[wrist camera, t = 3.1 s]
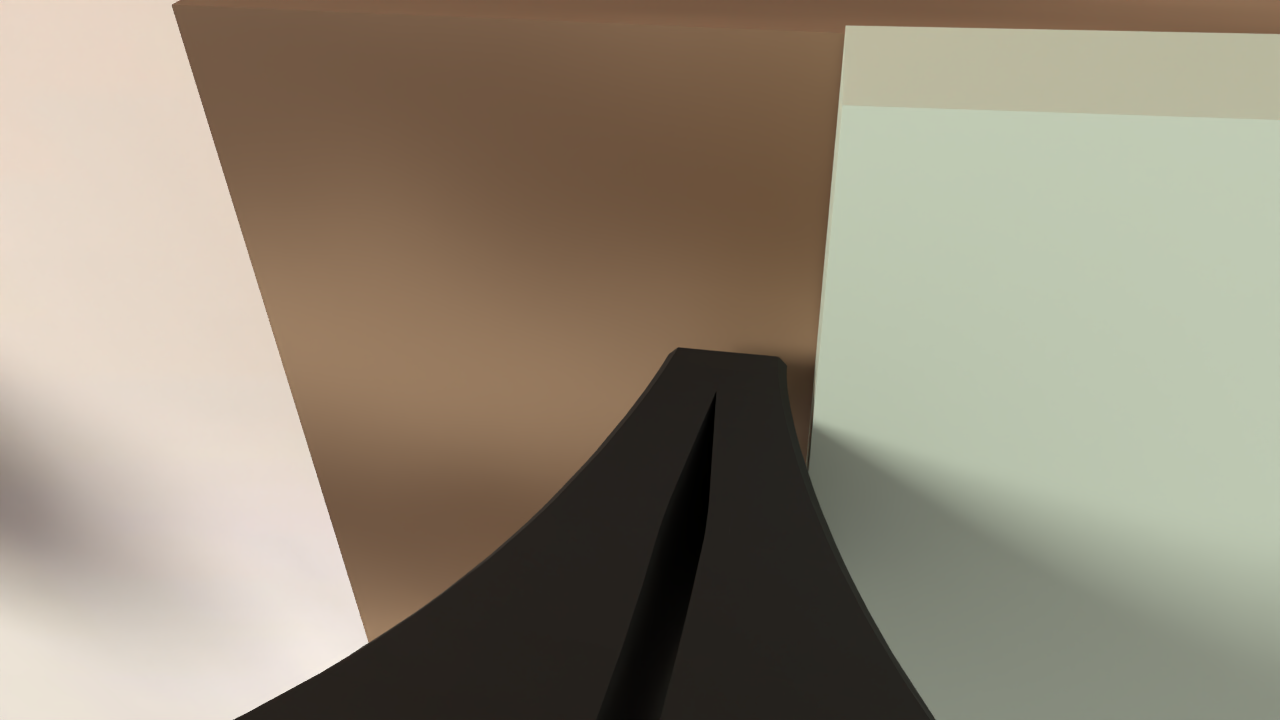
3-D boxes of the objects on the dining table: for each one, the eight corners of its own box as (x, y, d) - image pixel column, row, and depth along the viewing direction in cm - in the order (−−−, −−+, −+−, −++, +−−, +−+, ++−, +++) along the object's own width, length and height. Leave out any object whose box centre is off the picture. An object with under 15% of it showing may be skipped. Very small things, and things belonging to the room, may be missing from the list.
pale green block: (1214, 667, 14) (1260, 801, 12) (792, 615, 15) (784, 733, 13) (1550, 39, 8) (1710, 135, 7) (845, 25, 9) (842, 105, 8)
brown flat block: (982, 699, 21) (1000, 882, 18) (471, 623, 23) (410, 775, 20) (1237, -57, 12) (1368, 55, 9) (331, -81, 14) (172, 5, 11)
